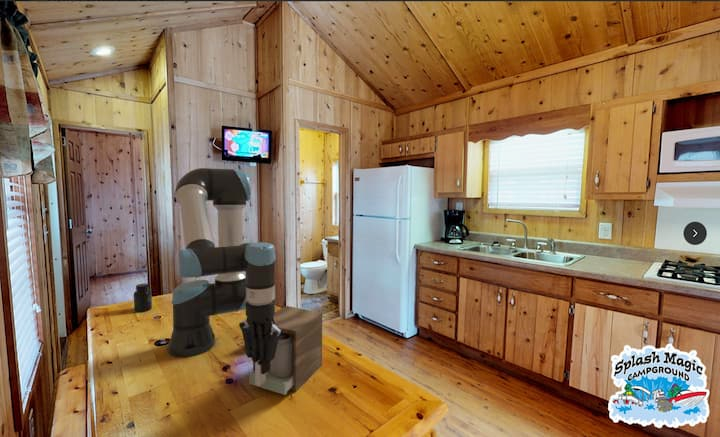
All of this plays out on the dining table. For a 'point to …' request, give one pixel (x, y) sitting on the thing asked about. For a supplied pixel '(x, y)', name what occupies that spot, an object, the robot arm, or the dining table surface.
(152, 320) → the dining table surface
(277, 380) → the tray
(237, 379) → the dining table surface
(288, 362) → the can
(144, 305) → the supplement bottle
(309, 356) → the housing
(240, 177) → the robot arm
